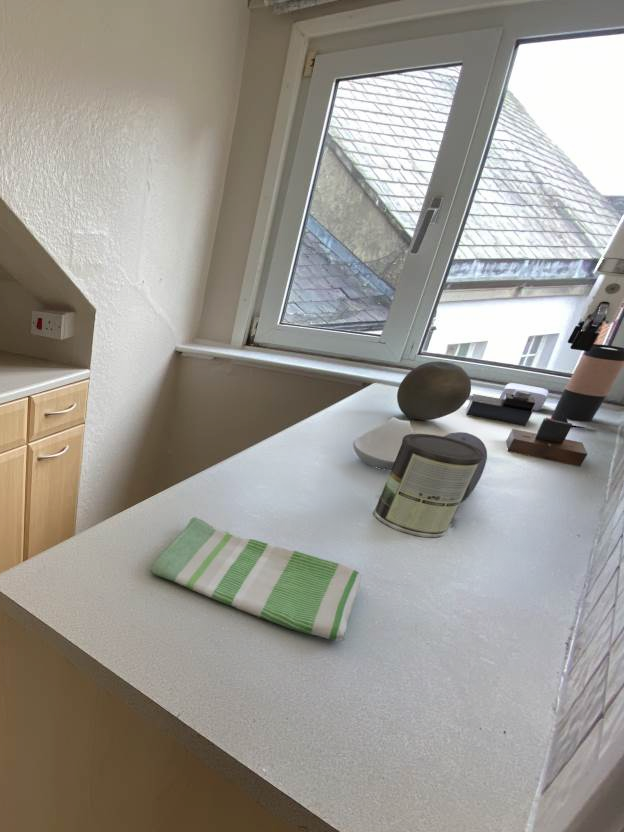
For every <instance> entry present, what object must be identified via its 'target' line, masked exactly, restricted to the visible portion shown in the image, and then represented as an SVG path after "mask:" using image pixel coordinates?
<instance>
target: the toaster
mask: <svg viewBox="0 0 624 832" xmlns="http://www.w3.org/2000/svg"><path fill="white" fill-rule="evenodd" d="M512 396H513V394H507V393H505V396H504V398H503V399H499V398H500V397H499V398H498V397H494V396H493V397H492V396H487V395H482V394H476V393H473V394H472V396H471V398H470V400H469V402H468V404H467V407H466V412H465V413H466V414H465V415H466V416H468V417H474V418H479V419H485V420H488V421H494V422H499V423H505V424H510V425H516V426H521V427H526V426H527V424H528V422H529V421H530V419H531V416H532V414H533V412H534V410H532V408H533V406H534V405H535V400H534V398H531V397H529V398H528V400H522V399H516V398H512Z"/></svg>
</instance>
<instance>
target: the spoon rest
mask: <svg viewBox="0 0 624 832" xmlns="http://www.w3.org/2000/svg"><path fill="white" fill-rule="evenodd" d="M408 434H414V431H413V429H412V425H411V421H410V420H402V419H399V418H396V417H391V418H389V419H388V420H387V421H386V422H384V423H382V424H381V425H379V426H377V427H375V428H373V429H371V430H368V431H367V432H365V433H362V434H361V435H360V436H358V437H357V438H356V439H354V440H353V442H352V446H353V450H354V452H355V454H356V456H357V457H358V458H359V459H360V460H361V461H362V462H363V463H365V464H366V463H367V464H366V465H368V464H369V465H368V466H370V465H371V466H370V467H372V466H374V467H373V468H375V467H377V468H376V469H378V468H380V469H379V470H383V469H385V470H384V471H391V470H392V467H393V465H394V462H395V460H396V457H397V455H398V452H399V450H400V447H401V445H402V440H403V437H404V436H406V435H408Z"/></svg>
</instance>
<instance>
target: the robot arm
mask: <svg viewBox="0 0 624 832" xmlns="http://www.w3.org/2000/svg"><path fill="white" fill-rule="evenodd" d="M597 262H598V263H597V264H596V266H595V268H594V270H593V272H592V274H596V275H598V277H597V279H596V281H595V282H594V284H593V286H592V288H591V290H590V292H589V294H588V296H587V298H586V300H585V302H584V304H583V306H582V309H581V311H580V313H579V318H580V319H579V320H578V323H577V325H575V327H574V328H573V330H572V332H571V334H570V336H569V338H568V339H567V343H568V344H571V345H570V347H569V348H570V349H571V350H575V351H581V352H582V351H583V352H585V351H590V349H591V348H592V346H593V344H595V342H596V340H597V339H598V337H599V335H600V332H601V329H602V328H603V324H604V323H605V324H606V325H610V324H612V323H614V320H615V319H616V317H617V314H618V313H619V311H620V309H621V308H622V307H621V306H622V304H623V303H624V214H623V215H622V216H621V218H620V220H619V223H618V224H617V226H616V228H615V230H614V231H613V234H612V235H611V237H610V239H609V241H608V243H607V245H606V247H605V248H604V251H603V253H602V255H601V257H600V259H599V260H598V261H597Z"/></svg>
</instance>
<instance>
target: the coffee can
mask: <svg viewBox="0 0 624 832" xmlns="http://www.w3.org/2000/svg"><path fill="white" fill-rule="evenodd" d="M443 436H444V435H437V434H429V433H413V434H408V435H406V436H404V437H403V440H402V445H401V447H400V450H399V452H398V455H397V457H396V460H395V462H394V465H393V467H392V470H390V472H389V475H388V477H387V479H386V482H385V485H384V487H383V489H382V492H381V494H380V497H379V499H378V500H377V501H378V502H377V504H376V506H375V509H374V510H373V514H375V515H374V516H375V518H376V517H377V518H378V519H379V520H378V519H377V518H376V519H377V520H378V521H380V522H381V521H382V522H383V523H382V522H381V523H382V524H384V525H386V526H387V525H388V527H389V528H392V529H394V530H396V531H399V532H401V533H405V534H407V535H412V536H416V537H423V538H439V536H440V537H444V536H445V535H446V534H447V530H448V528H449V526H450V524H451V523H452V520H453V518H454V516H455V514H456V512H457V510H458V508H459V506H460V504H461V503H460V502H461V500H462V498H463V496H464V494H465V492H466V489H467V487H468V486H469V483H470V481H471V479H472V477H473V475H474V473H475V471H476V469H477V467H478V465H479V463H480V461H481V460H482V459H483V457H484V453H483V452H482V451H481V450H479V449H478V448H476V447H474V446H472V445H470V444H467V443H465V442H462V441H458V440H455V439H451V438H447V437H443Z"/></svg>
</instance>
